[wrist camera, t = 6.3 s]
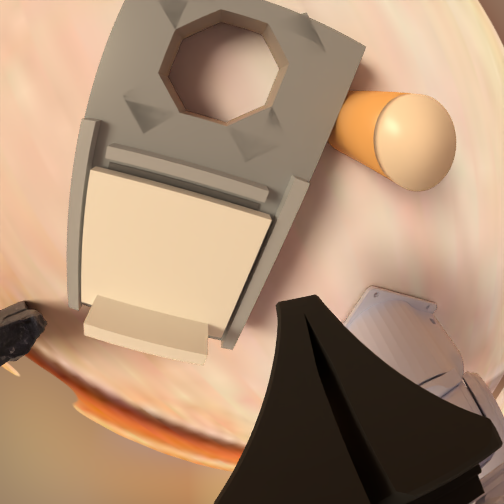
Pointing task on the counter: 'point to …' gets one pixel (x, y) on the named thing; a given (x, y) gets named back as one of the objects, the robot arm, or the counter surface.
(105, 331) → the lid
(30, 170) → the counter surface
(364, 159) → the orange cylinder
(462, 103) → the counter surface
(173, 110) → the housing
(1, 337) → the stone
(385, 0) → the counter surface
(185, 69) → the counter surface
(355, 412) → the robot arm
